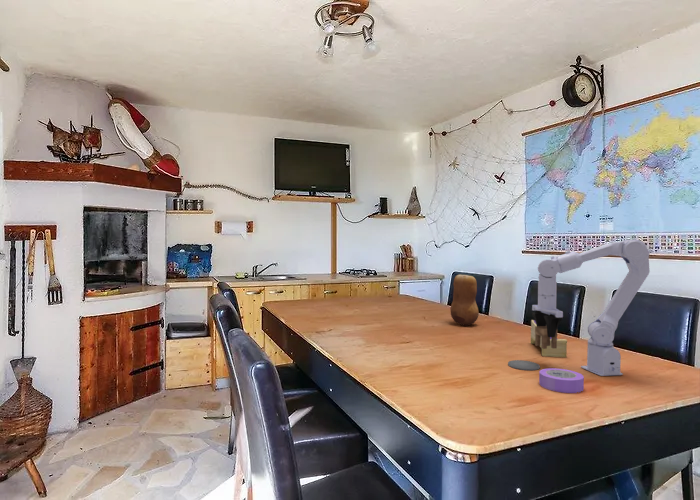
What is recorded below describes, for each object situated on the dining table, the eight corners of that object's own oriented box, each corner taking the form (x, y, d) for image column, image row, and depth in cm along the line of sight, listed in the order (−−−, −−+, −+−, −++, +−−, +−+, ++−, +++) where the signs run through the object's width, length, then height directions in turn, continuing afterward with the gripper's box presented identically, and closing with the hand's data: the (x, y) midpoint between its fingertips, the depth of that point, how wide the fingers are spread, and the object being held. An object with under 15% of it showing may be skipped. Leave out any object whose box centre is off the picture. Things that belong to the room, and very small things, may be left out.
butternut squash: (481, 324, 221) (482, 274, 220) (473, 328, 210) (474, 276, 209) (454, 321, 228) (455, 273, 228) (445, 325, 217) (446, 274, 216)
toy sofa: (567, 358, 159) (568, 330, 159) (542, 357, 161) (542, 329, 161) (552, 344, 180) (552, 319, 180) (529, 343, 182) (530, 319, 181)
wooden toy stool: (557, 348, 147) (557, 329, 147) (543, 348, 147) (543, 329, 147) (548, 344, 152) (548, 326, 152) (534, 345, 152) (535, 326, 151)
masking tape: (532, 386, 129) (532, 373, 129) (548, 377, 137) (548, 365, 137) (575, 396, 121) (575, 382, 120) (589, 387, 129) (589, 374, 129)
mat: (546, 369, 144) (546, 368, 144) (517, 371, 143) (517, 369, 143) (529, 361, 154) (529, 359, 154) (502, 362, 153) (502, 360, 153)
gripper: (524, 292, 156) (523, 330, 156) (549, 298, 141) (548, 340, 142) (542, 292, 157) (542, 330, 157) (569, 297, 142) (568, 339, 143)
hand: (546, 335), depth 149 cm, fingers closed on wooden toy stool, 5 cm apart
